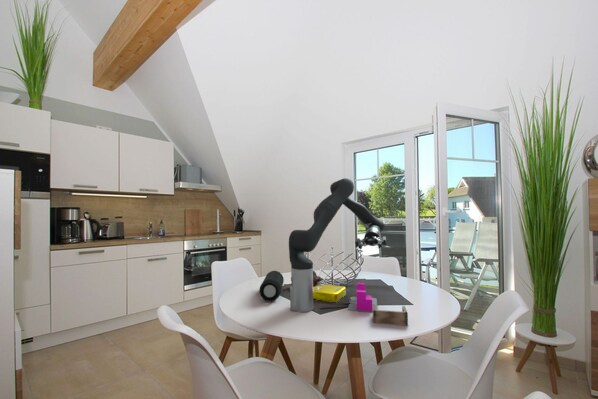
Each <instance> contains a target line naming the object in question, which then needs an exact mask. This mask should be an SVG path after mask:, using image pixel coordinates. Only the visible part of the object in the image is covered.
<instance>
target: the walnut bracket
mask: <svg viewBox="0 0 598 399" xmlns="http://www.w3.org/2000/svg"><path fill="white" fill-rule="evenodd" d="M401 307H402V308H401V309H402V310H399V311H398V310H387V309H386V310H383V309H378V310H376V305H375V304H373V312H372V322H373V323H374V324H382V325H383V324H384V325H395V326H396V325H397V326H409V320H408V318H409V317H408V315H409V314H408V310H407V307H406V305H401Z"/></svg>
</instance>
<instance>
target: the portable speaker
mask: <svg viewBox="0 0 598 399" xmlns="http://www.w3.org/2000/svg"><path fill="white" fill-rule="evenodd" d="M283 285H284V276H283V274H282V273H281V272H280V271H278V270H271V271H269V272H268V273H267V274H266V275H265V278H264V279H263V281H262V283H261V285H260V286H259V295H260V297H261V298H262V300H264V301H266V302H274V301H276V300H277V299H278V298H279V297H280V295H281V292H282V289H283Z"/></svg>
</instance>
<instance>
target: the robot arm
mask: <svg viewBox="0 0 598 399" xmlns="http://www.w3.org/2000/svg"><path fill="white" fill-rule="evenodd" d="M329 187H330V188H329V189H330V193H331V194H330V195H328V196H327V197H325V198H324V199H323V200H321V202H320V203H319V204H318V205H317V206H316V207H315V209H314V211H313V224H312V225H311V227H310V228H309V229H295V230H294V229H293V230H292V231H291V232H290V234H289V237H288V252H289V254H288V256H289V263H290V266H291V267H290V268H291V269H290V270H291V273H290V274H291V277H290V281H291V286H289V294H290V295H289V302H290V303H289V306H290V307H289V309H290V310H291V311H294V312H298V313H299V312H300V313H308V312H312V310H314V300H313V271H314V263H313V261H312V260H311V259H309V258H308V257H307V256H306V255H305V253H311V252H313V251H314V250H315V248H316V247H317V246H318V243H319V241H320V239H321V238H322V236H323V234H324V232H325V231H326V229H327V228H328V226H329V224H330V223H331V222H332V220H333V218H334V217H336V214H337V213H338V211H339V210H340V208H341V207H342V205H344V207H346V208H347V209H348V210H349V211H351V212H352V213H353V214H354V216H356V217H357V218H358V220H359V221H360V222H361V223H362V224H363V225H366V226H365V227H364V228H365V231H366V232H365V234H364V236H363V238H362V239H360V238H359V237H358V238H356V240H355V242H354V243H355V248H358V249H359V250H362V248H363V247H367V246H370V247H375V246H377V247H378V249H381V248H382V247H383V246H387V237H386V236H382V237H381V234H382V233H381V232H382V231H384V230H385V228H386V227H385V223H384V221H383V220H381V218H378V217H376V216H375V215H373V214H372V212H370V210H369V209H368V208H367V207H366V206H365V205H364V204H362V203H360V202H358V201H356V200H354V199H352V198H351V197H350V196H351V195H352V194H353V193H354V191H355V186H354V182H353V180H352V179H351V178H347V177H343V178H342V179H339V180H337V181H334V182H332V183H331V184H330V186H329Z"/></svg>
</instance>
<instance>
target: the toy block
mask: <svg viewBox="0 0 598 399" xmlns="http://www.w3.org/2000/svg"><path fill="white" fill-rule="evenodd" d="M356 297H357V310H362V311H361V312H367V311H373V310H372V298H373V297H372V295H370V294H367V291H366V283H365V282H363V283H362V282H356Z"/></svg>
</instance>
